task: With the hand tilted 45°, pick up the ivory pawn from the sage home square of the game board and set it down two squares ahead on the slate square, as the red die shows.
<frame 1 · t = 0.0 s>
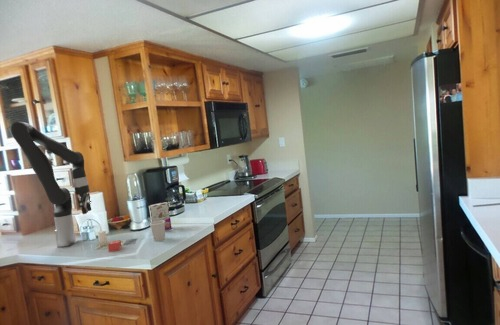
hand: (87, 212, 199), 17 cm above the countertop, tool pointing down, fingers open, 8 cm apart
candy bar box: (161, 230, 208), on the countertop
dixie cup: (159, 240, 187), on the countertop
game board: (117, 245, 184), on the countertop
pawn: (103, 245, 183), point 1 cm above the countertop, touching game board
red die: (115, 251, 174), on the countertop
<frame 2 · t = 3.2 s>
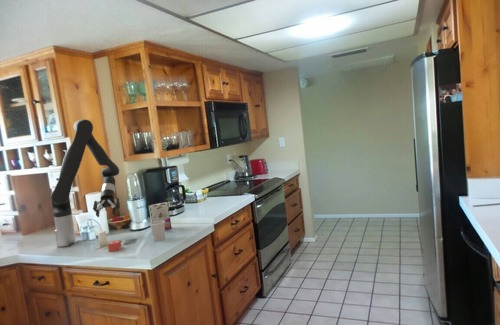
hand: (105, 215, 193), 15 cm above the countertop, tool tilted 45°, fingers open, 8 cm apart
nothing on the countertop moved.
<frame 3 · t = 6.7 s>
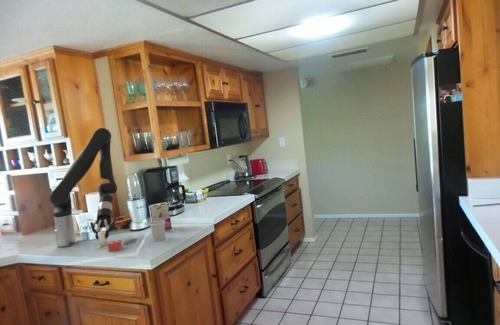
hand: (101, 238, 181), 6 cm above the countertop, tool tilted 45°, fingers closed on pawn, 4 cm apart
pawn: (103, 245, 183), point 1 cm above the countertop, touching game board, gripper
everything else where it was.
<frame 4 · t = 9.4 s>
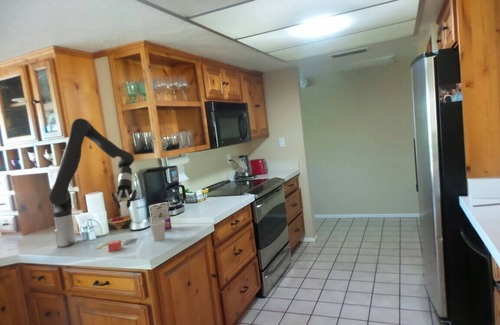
hand: (123, 207, 182), 21 cm above the countertop, tool tilted 45°, fingers closed on pawn, 4 cm apart
pawn: (125, 215, 184), point 16 cm above the countertop, touching gripper
everything else where it was.
when the fingers open (7 cm above the countertop, at t = 12.4 s): pawn drops 1 cm, resting on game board.
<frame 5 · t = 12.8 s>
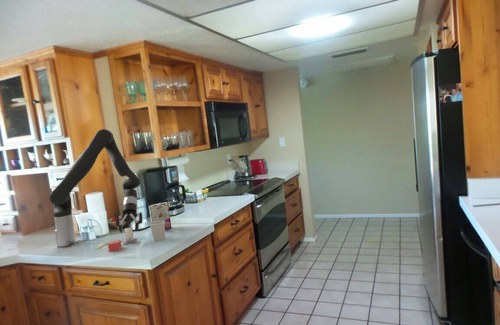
hand: (128, 231, 184), 7 cm above the countertop, tool tilted 45°, fingers open, 7 cm apart
pawn: (130, 241, 185), point 1 cm above the countertop, touching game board
everything else where it was.
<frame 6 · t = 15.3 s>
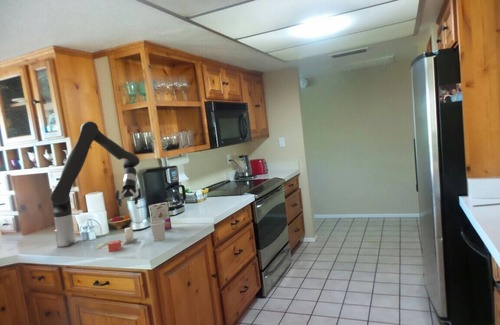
hand: (127, 204, 194), 20 cm above the countertop, tool tilted 45°, fingers open, 8 cm apart
nothing on the countertop moved.
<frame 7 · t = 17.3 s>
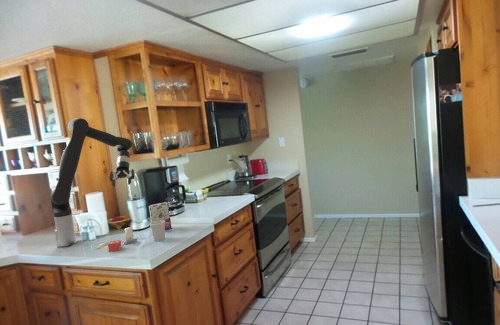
hand: (121, 184, 203), 31 cm above the countertop, tool tilted 45°, fingers open, 8 cm apart
nothing on the countertop moved.
at the end: pawn 0.2 cm from the target spot, point 1.2 cm above the countertop; pawn tilted 0°; the gripper is holding nothing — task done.
